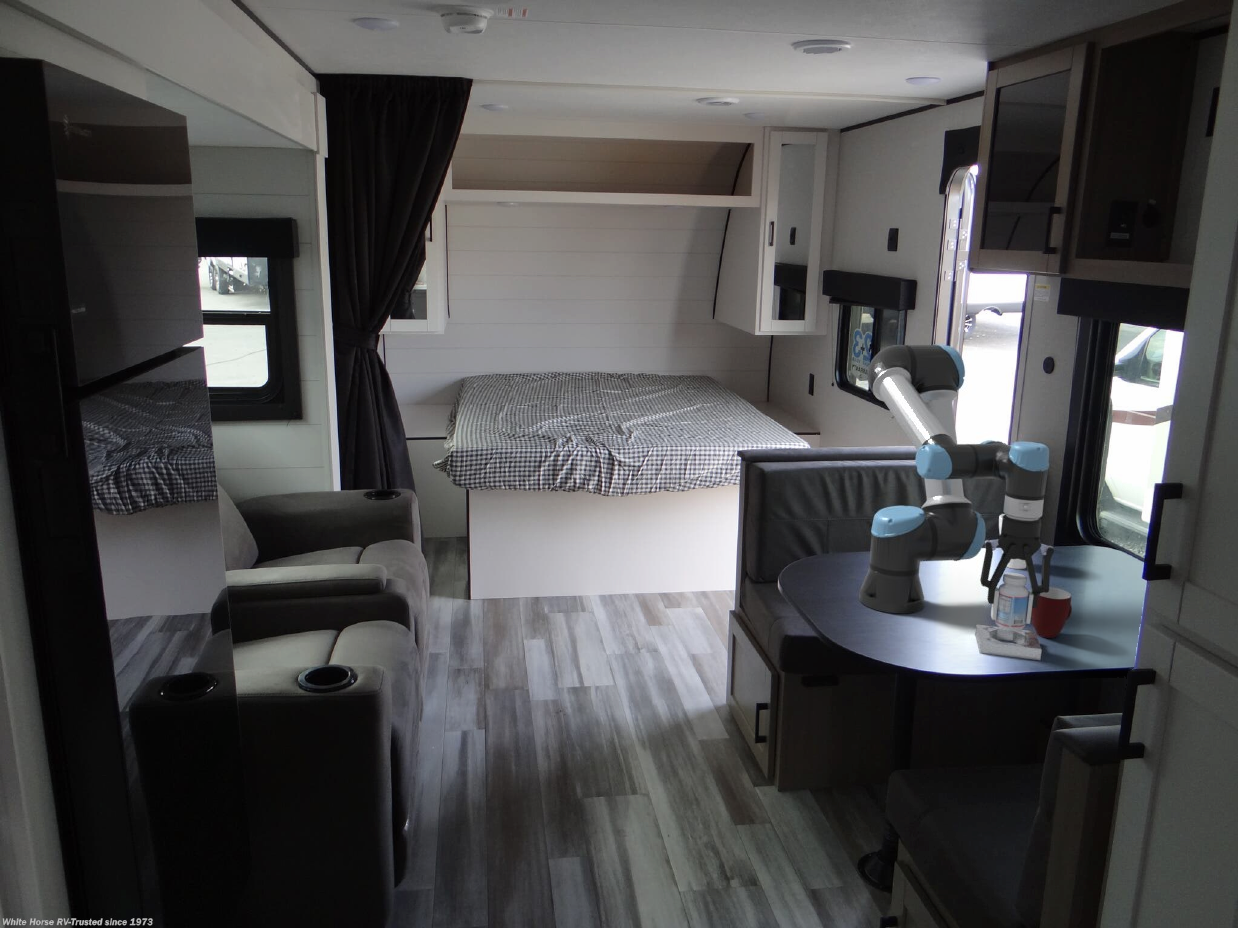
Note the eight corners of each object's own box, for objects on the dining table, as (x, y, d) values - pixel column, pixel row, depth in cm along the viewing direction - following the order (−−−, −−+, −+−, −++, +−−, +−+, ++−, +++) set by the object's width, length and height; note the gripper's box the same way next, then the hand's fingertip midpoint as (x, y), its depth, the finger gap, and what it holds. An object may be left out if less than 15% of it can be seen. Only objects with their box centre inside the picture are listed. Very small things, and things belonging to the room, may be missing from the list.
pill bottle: (1023, 622, 201) (1029, 573, 198) (1026, 632, 195) (1032, 582, 193) (993, 618, 203) (999, 569, 200) (995, 628, 197) (1001, 578, 194)
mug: (1047, 623, 214) (1052, 582, 212) (1080, 635, 207) (1086, 593, 205) (1019, 631, 208) (1024, 590, 206) (1051, 644, 202) (1057, 601, 200)
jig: (979, 652, 197) (980, 641, 196) (975, 634, 206) (976, 624, 206) (1040, 660, 194) (1041, 649, 193) (1033, 641, 203) (1034, 631, 203)
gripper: (975, 516, 192) (964, 620, 197) (1075, 525, 188) (1061, 631, 193) (972, 507, 200) (961, 608, 205) (1068, 515, 195) (1055, 618, 200)
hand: (1010, 619), depth 199 cm, fingers closed on pill bottle, 6 cm apart
